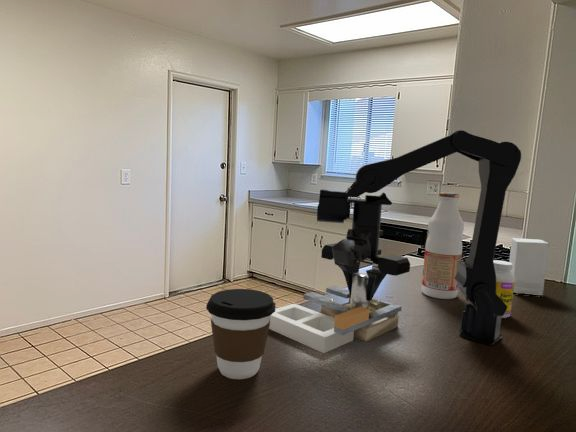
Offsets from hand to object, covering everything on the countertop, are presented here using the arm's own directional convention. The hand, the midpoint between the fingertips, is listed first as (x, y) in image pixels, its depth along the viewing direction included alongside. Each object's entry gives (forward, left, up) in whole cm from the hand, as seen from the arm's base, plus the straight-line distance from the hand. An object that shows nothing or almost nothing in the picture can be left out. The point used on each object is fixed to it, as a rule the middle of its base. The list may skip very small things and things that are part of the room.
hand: (360, 297), depth 90 cm
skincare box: (-16, -60, -6) cm, 62 cm away
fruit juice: (-1, -37, -6) cm, 38 cm away
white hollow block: (+4, +12, -6) cm, 14 cm away
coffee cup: (+1, +32, -6) cm, 33 cm away
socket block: (0, 0, -6) cm, 6 cm away
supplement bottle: (-17, -33, -6) cm, 38 cm away
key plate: (+2, +5, -2) cm, 6 cm away
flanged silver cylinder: (0, 0, -6) cm, 6 cm away
